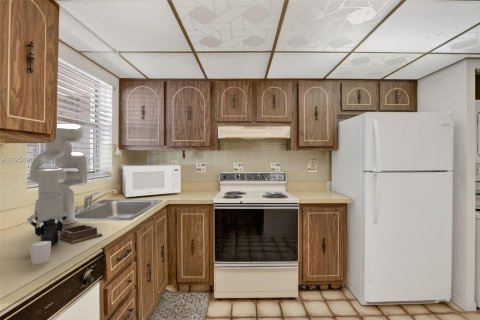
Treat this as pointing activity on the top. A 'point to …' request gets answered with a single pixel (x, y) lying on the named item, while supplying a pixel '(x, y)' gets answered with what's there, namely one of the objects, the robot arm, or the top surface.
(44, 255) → the shot glass
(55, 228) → the supplement bottle
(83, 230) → the bottle cradle
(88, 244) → the top surface
